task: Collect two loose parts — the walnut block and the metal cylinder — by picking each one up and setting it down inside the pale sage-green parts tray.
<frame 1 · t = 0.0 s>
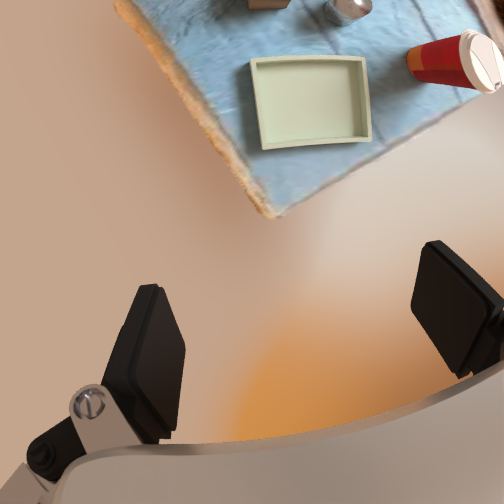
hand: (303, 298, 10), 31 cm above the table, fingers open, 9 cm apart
coffee cup: (420, 64, 31), on the table
metal cylinder: (339, 12, 27), on the table
parts tray: (311, 99, 34), on the table
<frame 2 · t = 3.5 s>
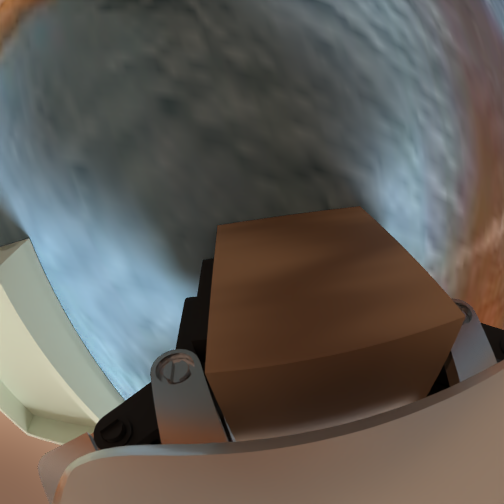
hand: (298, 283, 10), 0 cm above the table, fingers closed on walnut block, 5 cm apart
walnut block: (295, 276, 11), on the table, touching gripper
parts tray: (27, 359, 13), on the table
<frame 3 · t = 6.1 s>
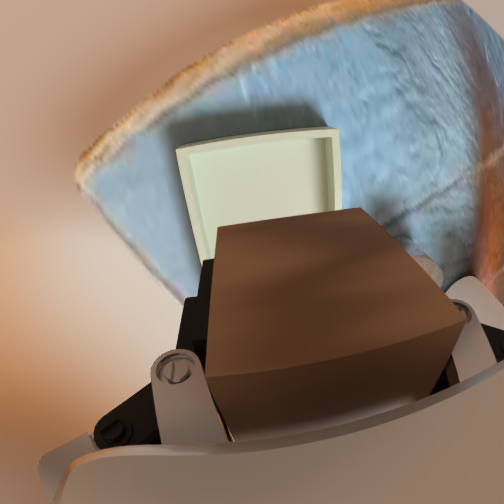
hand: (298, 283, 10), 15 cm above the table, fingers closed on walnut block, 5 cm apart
beverage can: (455, 297, 32), on the table
walnut block: (296, 277, 11), point 14 cm above the table, touching gripper
metal cylinder: (397, 254, 28), on the table
parts tray: (266, 218, 25), on the table
when the fingers open (2 cm above the table, at t = 8.7 s): walnut block drops 1 cm, resting on parts tray.
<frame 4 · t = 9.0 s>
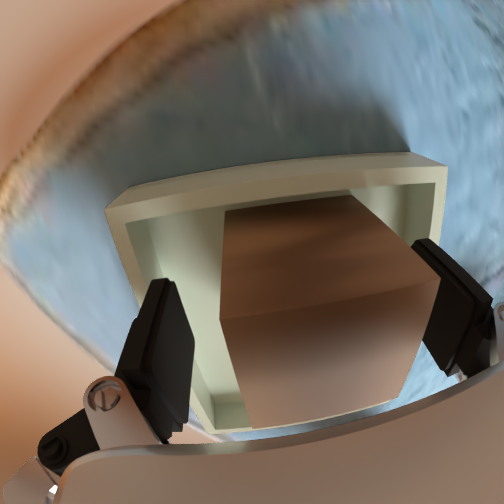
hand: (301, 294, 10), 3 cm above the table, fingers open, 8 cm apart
walnut block: (294, 258, 12), point 1 cm above the table, touching parts tray
parts tray: (291, 312, 14), on the table
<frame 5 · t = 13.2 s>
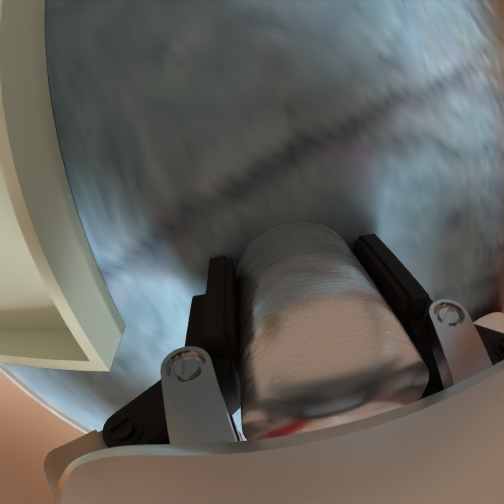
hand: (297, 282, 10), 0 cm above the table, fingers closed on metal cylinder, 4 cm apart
beverage can: (461, 349, 15), on the table
metal cylinder: (295, 276, 11), on the table, touching gripper
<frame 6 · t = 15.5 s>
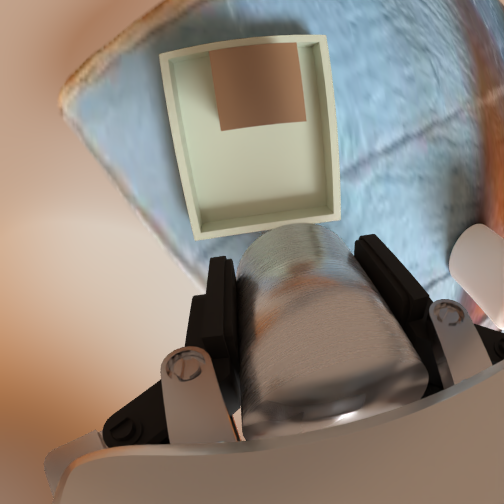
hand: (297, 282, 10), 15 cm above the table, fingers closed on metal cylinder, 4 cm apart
beverage can: (467, 249, 29), on the table
walnut block: (252, 90, 19), point 1 cm above the table, touching parts tray
metal cylinder: (296, 278, 11), point 15 cm above the table, touching gripper
parts tray: (254, 132, 22), on the table
when the fingers open (2 cm above the table, at t = 18.1 s): metal cylinder drops 1 cm, resting on parts tray.
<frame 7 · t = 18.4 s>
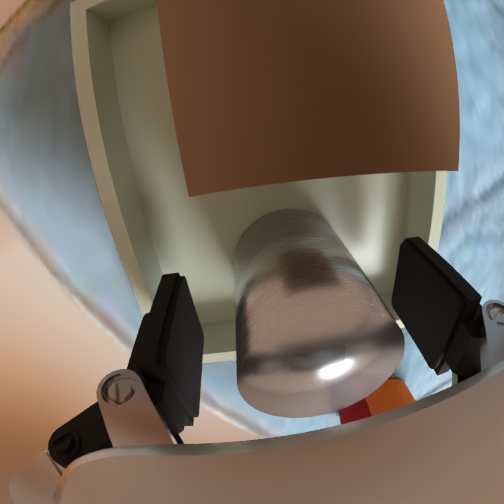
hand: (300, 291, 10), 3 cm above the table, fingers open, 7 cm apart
walnut block: (275, 69, 8), point 1 cm above the table, touching parts tray
coffee cup: (372, 397, 20), on the table
metal cylinder: (288, 259, 12), point 1 cm above the table, touching parts tray
parts tray: (278, 160, 11), on the table
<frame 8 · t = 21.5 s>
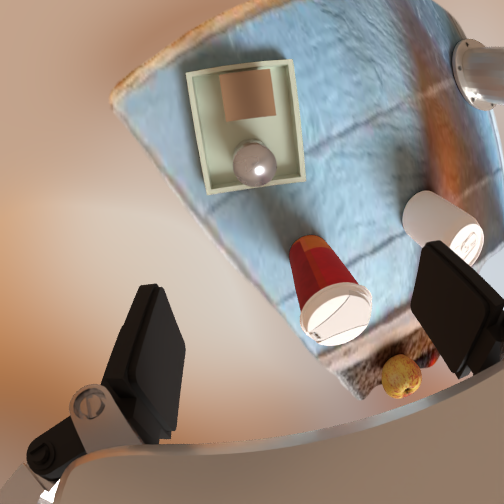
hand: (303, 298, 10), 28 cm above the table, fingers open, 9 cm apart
beverage can: (419, 212, 40), on the table
walnut block: (245, 97, 30), point 1 cm above the table, touching parts tray
coffee cup: (309, 252, 42), on the table
metal cylinder: (251, 156, 34), point 1 cm above the table, touching parts tray
apple: (392, 360, 57), on the table
parts tray: (247, 124, 32), on the table
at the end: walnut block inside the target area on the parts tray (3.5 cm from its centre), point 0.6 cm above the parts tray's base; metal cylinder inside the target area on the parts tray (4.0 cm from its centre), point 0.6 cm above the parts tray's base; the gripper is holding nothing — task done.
